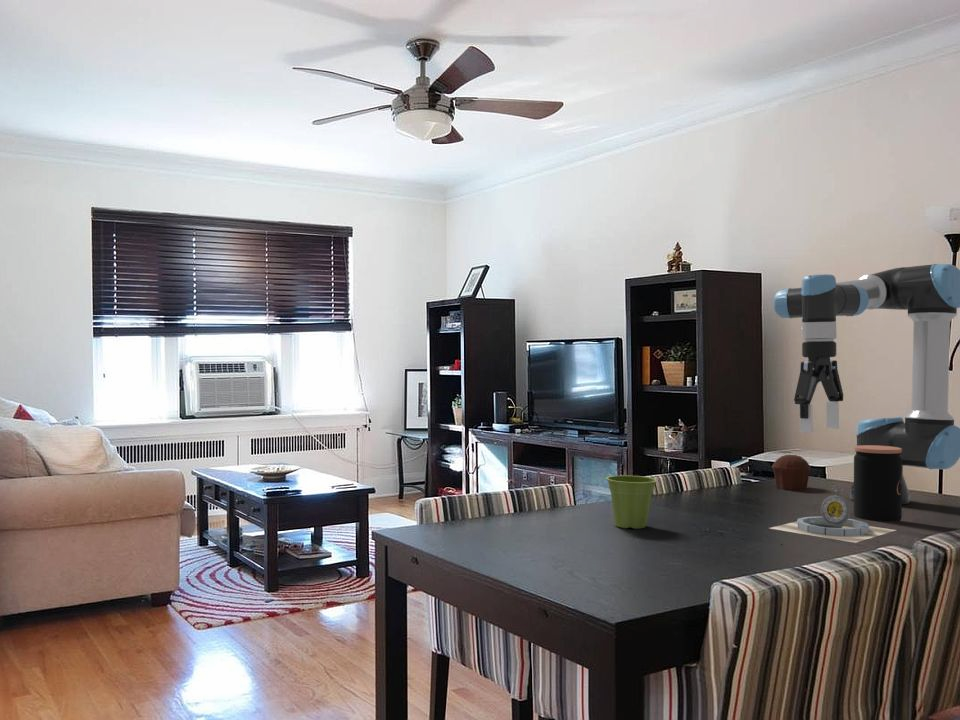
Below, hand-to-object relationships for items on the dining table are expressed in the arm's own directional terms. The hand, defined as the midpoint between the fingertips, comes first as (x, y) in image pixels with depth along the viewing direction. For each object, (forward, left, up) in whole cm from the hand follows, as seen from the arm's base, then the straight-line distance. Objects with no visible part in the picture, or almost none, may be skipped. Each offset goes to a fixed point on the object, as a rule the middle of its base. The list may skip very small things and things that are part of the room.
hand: (819, 430), depth 203 cm
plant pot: (+34, -29, -23) cm, 50 cm away
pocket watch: (+8, +6, -21) cm, 24 cm away
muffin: (-51, -35, -23) cm, 66 cm away
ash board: (+6, +6, -23) cm, 24 cm away
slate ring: (+6, +6, -22) cm, 23 cm away
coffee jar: (-17, +6, -23) cm, 29 cm away
